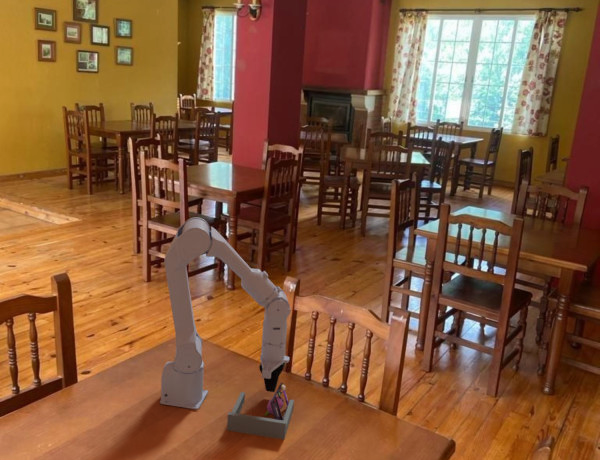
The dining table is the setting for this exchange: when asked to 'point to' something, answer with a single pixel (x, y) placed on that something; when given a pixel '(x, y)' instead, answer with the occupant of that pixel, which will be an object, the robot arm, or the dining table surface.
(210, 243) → the robot arm
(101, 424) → the dining table surface
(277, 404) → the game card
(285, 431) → the frame
